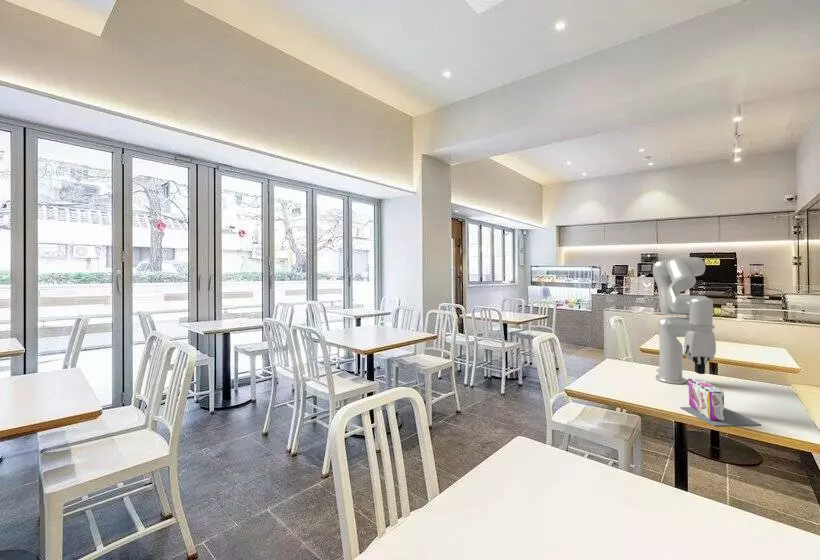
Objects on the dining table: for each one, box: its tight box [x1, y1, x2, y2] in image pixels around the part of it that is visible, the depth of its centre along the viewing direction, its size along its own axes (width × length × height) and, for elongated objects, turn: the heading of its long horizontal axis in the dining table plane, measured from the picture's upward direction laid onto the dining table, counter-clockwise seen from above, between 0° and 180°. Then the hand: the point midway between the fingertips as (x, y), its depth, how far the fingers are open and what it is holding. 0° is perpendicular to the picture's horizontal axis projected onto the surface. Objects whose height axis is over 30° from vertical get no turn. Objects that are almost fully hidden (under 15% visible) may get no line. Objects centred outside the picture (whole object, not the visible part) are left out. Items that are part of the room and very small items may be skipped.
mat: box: [680, 406, 762, 427], centre depth 145 cm, size 17×17×1 cm
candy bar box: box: [687, 378, 725, 421], centre depth 147 cm, size 11×5×16 cm
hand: (699, 373), depth 154 cm, fingers closed
